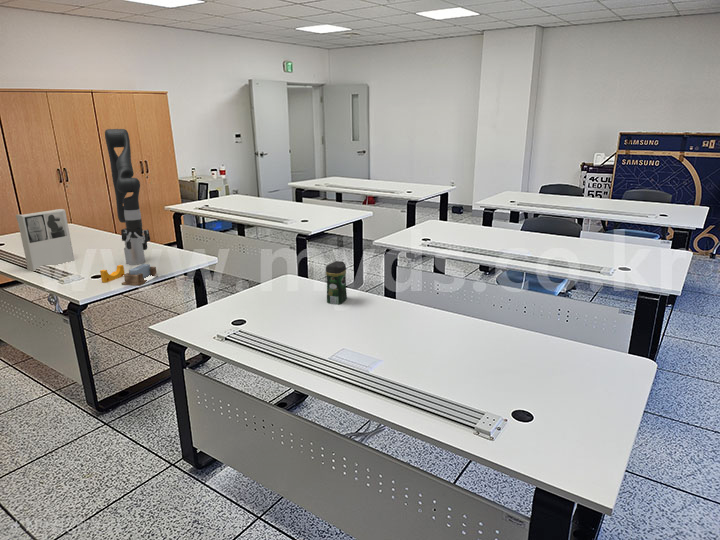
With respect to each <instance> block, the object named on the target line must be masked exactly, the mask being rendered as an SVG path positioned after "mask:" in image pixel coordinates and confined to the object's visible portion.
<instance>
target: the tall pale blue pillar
mask: <svg viewBox="0 0 720 540" xmlns="http://www.w3.org/2000/svg"><path fill="white" fill-rule="evenodd" d="M150 267H151V265H150V264H149V263H148V264H147V263H142V264H139V265H136V267H133V268H130V269H128V273H129V275H138V274H143V279H144V278H146V277H148V276H149V275H150V276H151V271H150Z"/></svg>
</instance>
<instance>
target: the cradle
mask: <svg viewBox="0 0 720 540" xmlns="http://www.w3.org/2000/svg"><path fill="white" fill-rule="evenodd" d="M150 271H151V275H152V276H156V275H157V267H156V266H150ZM155 274H156V275H155ZM151 275H150V276H151ZM123 278H124V281H122V282H121V285H122V286H134V287H136V286H137V287H138V286H139V287H140V286H142V285H144V284H146V283H147V282H146V281H147V280H144V279H143V274H138V275H129V272H126V273H125V274H124V276H123ZM145 282H146V283H145Z"/></svg>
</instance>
